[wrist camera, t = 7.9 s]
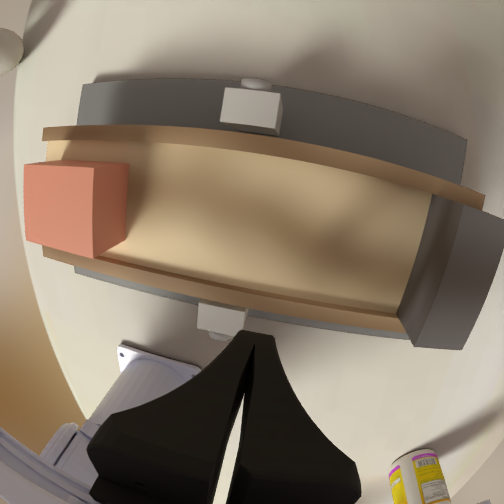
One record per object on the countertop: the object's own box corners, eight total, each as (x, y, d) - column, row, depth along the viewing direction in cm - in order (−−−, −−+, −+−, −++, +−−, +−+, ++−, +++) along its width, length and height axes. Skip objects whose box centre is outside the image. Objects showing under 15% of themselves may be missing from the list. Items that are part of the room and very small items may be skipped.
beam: (428, 322, 15) (454, 363, 11) (57, 249, 17) (17, 270, 13) (470, 191, 12) (514, 204, 8) (59, 127, 14) (13, 128, 10)
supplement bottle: (396, 477, 27) (407, 551, 15) (380, 464, 26) (392, 549, 14) (439, 456, 25) (459, 529, 13) (429, 440, 24) (453, 525, 12)
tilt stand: (405, 333, 20) (430, 380, 15) (81, 268, 22) (37, 297, 17) (459, 140, 15) (510, 140, 10) (90, 86, 17) (39, 75, 12)
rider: (125, 240, 15) (93, 258, 12) (59, 226, 15) (26, 240, 12) (129, 163, 13) (93, 167, 10) (60, 159, 14) (24, 164, 11)
